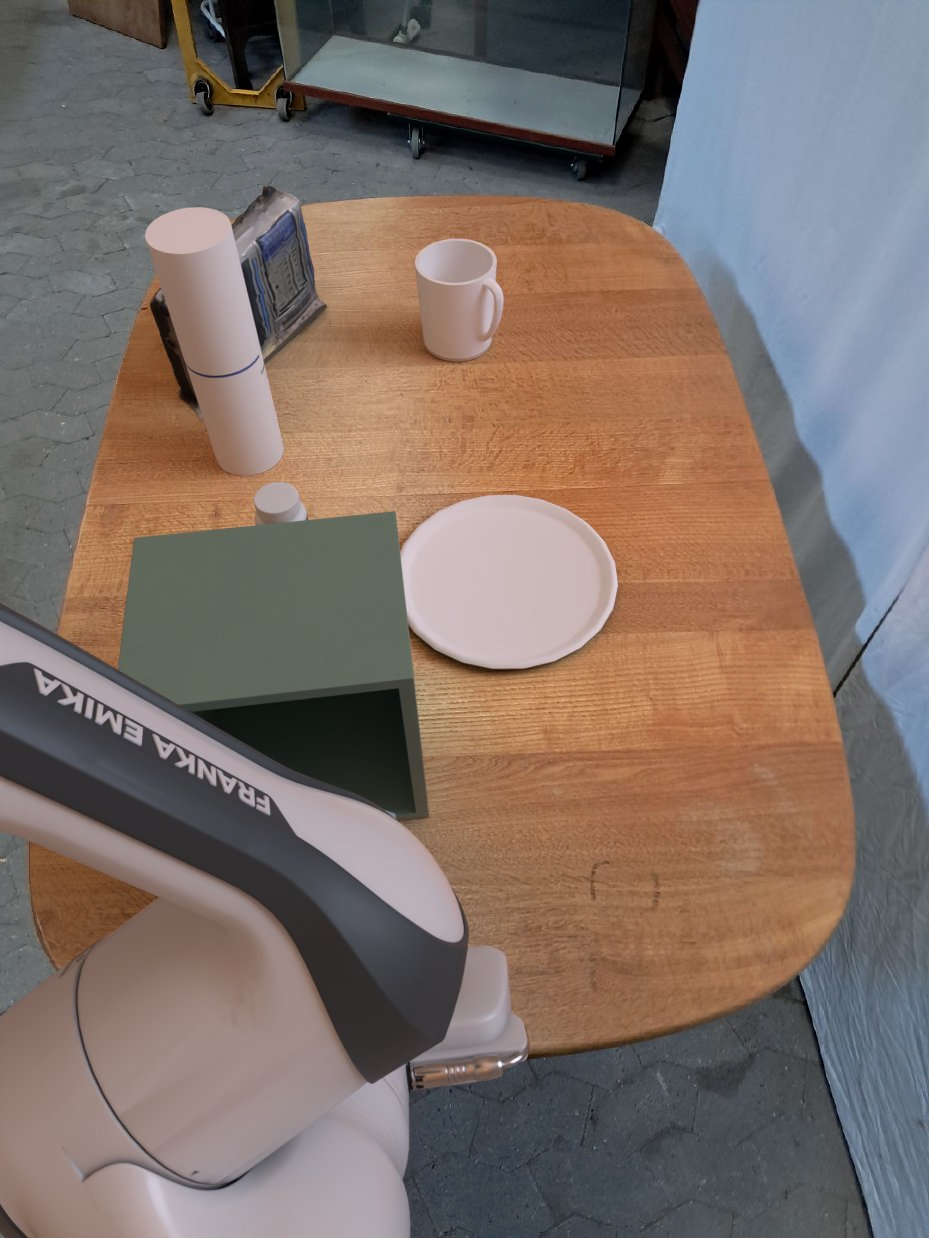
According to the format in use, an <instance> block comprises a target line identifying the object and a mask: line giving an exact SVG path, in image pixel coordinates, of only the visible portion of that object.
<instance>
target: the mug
mask: <svg viewBox="0 0 929 1238" xmlns="http://www.w3.org/2000/svg"><path fill="white" fill-rule="evenodd" d="M497 265H498V258H497V256H496V254H495V252H494V251H493V249H491V248H490V247H489V246H488V245H485V244H484V243H482V242H479V241H477V240H473V239H467V238H448V239H447V238H446V239H441V240H437V241H434V242H431V243H429V244H427V245H426V246H425V247H423V248H422V249H421V250H420V251H419V252H418V253H417V255H416V256H415V260H414V269H415V278H416V286H417V295H418V305H419V313H420V321H421V322H420V323H421V329H422V340H423V343H424V347H425V348H426V350H427V351H428V352H429V353H430V354H431V355H432V356H434V357H435V358H437V359H439V360H442V361H446V362H450V363H462V362H469V361H473V360H475V359H478V358H479V357H482V356H483V355H484V354H485V353H486V352H487V351H488V350H489V349H490V347H491V345H492V342H493V336H494V334H495V333H496V331H497V329H498V327H499V324H500V322H501V320H502V314H503V311H504V303H505V302H504V300H505V296H504V293H503V289H502V288H501V286H500V284H499V283H498V282H497Z"/></svg>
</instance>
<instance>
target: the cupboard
mask: <svg viewBox="0 0 929 1238" xmlns="http://www.w3.org/2000/svg"><path fill="white" fill-rule="evenodd" d="M400 550H401V547H400V537H399V529H398V521H397V512H396V511H393V510H392V511H383V512H373V513H363V514H353V515H343V516H335V517H333V516H332V517H326V518H325V517H323V518H316V519H315V518H313V519H308V520H304V521H294V522H284V523H274V524H264V525H256V524H255V525H246V526H237V527H227V528H217V529H206V530H197V531H187V532H177V533H167V534H158V535H148V536H147V535H146V536H138V537H133V544H132V552H131V559H130V566H129V573H128V583H127V590H126V598H125V599H126V600H125V607H124V615H123V623H122V629H121V630H122V631H121V638H120V646H119V647H120V648H119V653H118V654H119V656H118V662H117V670H119V671H121V672H123V673H124V674H126V675H128V676H129V677H131V678H133V679H135V680H136V681H138V682H140V683H142V684H143V685H145V686H147V687H149V688H150V689H152V690H154V691H155V692H157V693H159V694H161V695H162V696H164V697H166V698H168V699H169V700H171V701H173V702H174V703H176V704H178V705H180V706H181V707H183V708H185V709H186V710H188V711H190V712H191V713H193V714H195V715H196V716H198V717H200V718H202V719H203V720H205V721H207V722H209V723H210V724H212V725H214V726H215V727H217V728H219V729H221V730H222V731H224V732H226V733H227V734H229V735H231V736H233V737H234V738H236V739H238V740H240V741H241V742H243V743H245V744H246V745H248V746H250V747H252V748H253V749H255V750H257V751H258V752H260V753H262V754H264V755H265V756H267V757H269V758H271V759H272V760H274V761H276V762H278V763H280V764H281V765H283V766H285V767H287V768H289V769H291V770H294V771H296V772H298V773H300V774H303V775H306V776H308V777H311V778H313V779H316V780H319V781H322V782H324V783H327V784H330V785H333V786H336V787H338V788H341V789H344V790H347V791H349V792H352V793H355V794H357V795H359V796H361V797H363V798H365V799H367V800H369V801H371V802H373V803H374V804H376V805H377V806H379V807H380V808H382V809H383V810H386V811H389V812H392V813H395V815H396V820H397V821H398V822H399V821H407V820H415V819H423V818H424V819H425V818H429V817H430V809H429V801H428V793H427V783H426V775H425V773H426V772H425V764H424V755H423V745H422V738H421V728H420V718H419V712H418V711H419V708H418V701H417V692H416V683H415V674H414V664H413V654H412V646H411V637H410V631H409V630H410V629H409V628H410V626H409V625H408V618H407V609H406V600H405V591H404V582H403V573H402V564H401V555H400Z"/></svg>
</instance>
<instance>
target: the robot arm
mask: <svg viewBox="0 0 929 1238" xmlns="http://www.w3.org/2000/svg"><path fill="white" fill-rule="evenodd" d="M0 832H1V833H4V834H7V835H11V836H14V837H18V838H20V839H23V840H25V841H27V842H30V843H33V844H35V845H37V846H39V847H41V848H44V849H47V850H49V851H51V852H54V853H56V854H58V855H60V856H62V857H64V858H67V859H70V860H72V861H74V862H77V863H79V864H81V865H83V866H86V867H88V868H90V869H93V870H95V871H97V872H100V873H102V874H104V875H106V876H109V877H112V878H113V879H116V880H118V881H120V882H123V883H125V884H126V885H127V884H128V885H130V886H132V887H134V888H136V889H139V890H141V891H144V892H146V893H148V894H150V895H153V896H155V897H157V898H155V899H154V900H153V901H151V902H150V903H149V904H147V905H146V906H145V907H144V908H142V909H141V910H140V911H138V912H137V913H136V914H134V915H132V917H130V918H129V919H128V920H126V921H125V922H124V923H122V924H121V925H120V926H118V927H117V928H116V929H115V930H113V931H111V932H110V933H109V934H108V935H105V936H104V937H101V938H99V939H98V940H96V941H95V942H93V943H92V944H90V946H88V947H86V948H85V949H83V950H82V951H81V952H80V953H79V954H77V955H76V956H75V957H73V958H72V959H70V961H68V962H67V963H66V964H65V965H63V966H62V967H60V968H59V969H58V970H56V971H55V972H54V973H53V974H51V975H50V976H48V977H47V978H46V979H45V980H43V981H42V982H41V983H40V984H38V985H37V986H35V987H34V988H33V989H31V990H30V991H28V993H26V994H25V995H24V996H23V997H21V998H20V999H19V1000H18V1001H16V1002H15V1003H14V1004H12V1006H10V1007H9V1008H8V1009H6V1010H5V1011H2V1012H1V1013H0V1235H1V1236H2V1237H3V1238H411V1211H410V1204H409V1197H408V1193H407V1190H406V1187H405V1184H404V1181H403V1179H404V1177H405V1173H406V1169H407V1166H408V1160H409V1153H410V1152H409V1151H410V1093H411V1092H414V1091H421V1090H428V1089H436V1088H443V1087H444V1088H445V1087H451V1086H458V1085H459V1086H460V1085H466V1084H473V1083H477V1082H489V1081H493V1080H497V1079H499V1078H502V1077H503V1076H504V1070H508V1069H511V1068H513V1067H515V1066H517V1065H519V1064H520V1063H522V1062H525V1061H526V1060H527V1058H528V1055H529V1051H530V1049H531V1047H530V1046H531V1044H530V1040H529V1035H528V1030H527V1027H526V1025H525V1023H524V1021H523V1020H522V1018H521V1017H520V1016H518V1015H517V1014H516V1013H513V1010H512V997H511V987H510V978H509V977H510V976H509V968H508V960H507V955H506V954H505V952H504V951H503V950H501V949H498V948H496V947H494V946H492V945H489V944H481V945H480V944H479V945H472V946H469V939H470V938H469V937H470V930H469V924H468V919H467V916H466V913H465V911H464V909H463V906H462V904H461V902H460V898H459V897H458V896H457V894H456V891H455V890H454V889H453V886H452V885H451V883H450V881H449V880H448V878H447V876H446V875H445V873H444V871H443V869H442V868H441V866H440V864H439V863H438V862H437V860H436V859H435V858H434V856H433V855H432V854H431V852H430V851H429V850H428V848H426V846H425V844H423V843H422V842H421V840H420V839H419V838H418V837H417V836H416V835H415V834H414V833H413V832H411V830H409V829H408V828H407V827H406V826H405V825H403V824H402V823H401V822H399V821H397V820H396V819H395V818H394V817H392V816H391V815H390V814H389V813H387V812H386V811H385V810H383V809H382V808H380V807H379V806H377V805H376V804H374V803H373V802H371V801H369V800H367V799H365V798H363V797H361V796H359V795H357V794H355V793H352V792H349V791H347V790H344V789H341V788H338V787H336V786H333V785H330V784H327V783H324V782H322V781H319V780H316V779H313V778H311V777H308V776H306V775H303V774H300V773H298V772H296V771H294V770H291V769H289V768H287V767H285V766H283V765H281V764H280V763H278V762H276V761H274V760H272V759H271V758H269V757H267V756H265V755H264V754H262V753H260V752H258V751H257V750H255V749H253V748H252V747H250V746H248V745H246V744H245V743H243V742H241V741H240V740H238V739H236V738H234V737H233V736H231V735H229V734H227V733H226V732H224V731H222V730H221V729H219V728H217V727H215V726H214V725H212V724H210V723H209V722H207V721H205V720H203V719H202V718H200V717H198V716H196V715H195V714H193V713H191V712H190V711H188V710H186V709H185V708H183V707H181V706H180V705H178V704H176V703H174V702H173V701H171V700H169V699H168V698H166V697H164V696H162V695H161V694H159V693H157V692H155V691H154V690H152V689H150V688H149V687H147V686H145V685H143V684H142V683H140V682H138V681H136V680H135V679H133V678H131V677H129V676H128V675H126V674H124V673H123V672H121V671H119V670H118V668H116V667H114V666H112V665H111V664H109V663H107V662H105V661H104V660H103V659H100V658H98V656H95V655H93V654H92V653H90V652H88V651H87V650H85V649H83V648H82V647H80V646H79V645H76V644H75V643H73V642H71V641H69V640H68V639H66V638H64V637H62V636H61V635H59V634H57V633H56V632H54V631H52V630H50V629H48V628H47V627H45V626H43V625H41V624H39V623H38V622H36V621H34V620H33V619H31V618H29V617H27V616H25V615H24V614H22V613H19V611H16V610H15V609H13V608H10V607H9V606H7V605H5V604H3V603H2V602H0Z"/></svg>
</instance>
